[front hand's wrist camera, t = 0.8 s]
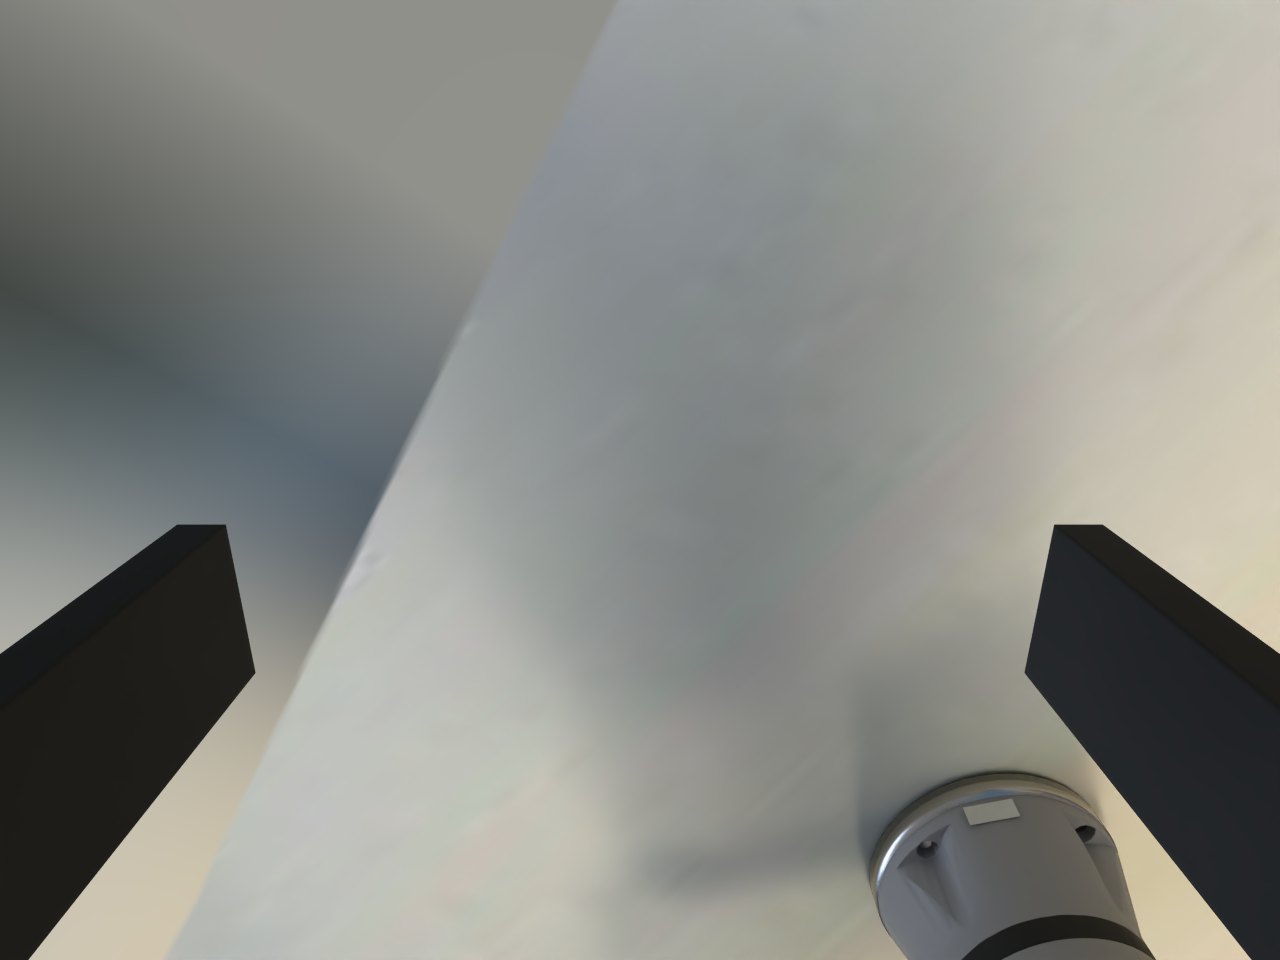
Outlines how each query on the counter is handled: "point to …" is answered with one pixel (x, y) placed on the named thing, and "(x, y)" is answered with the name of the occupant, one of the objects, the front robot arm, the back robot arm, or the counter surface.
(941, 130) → the counter surface
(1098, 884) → the front robot arm
